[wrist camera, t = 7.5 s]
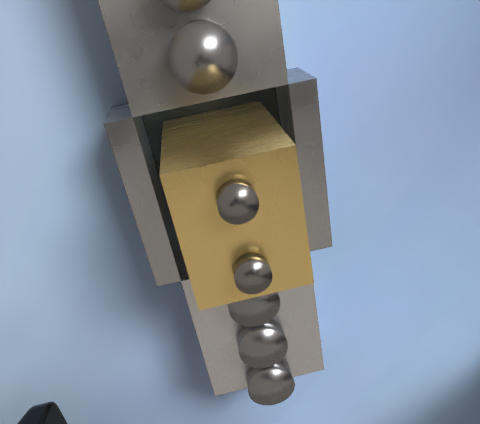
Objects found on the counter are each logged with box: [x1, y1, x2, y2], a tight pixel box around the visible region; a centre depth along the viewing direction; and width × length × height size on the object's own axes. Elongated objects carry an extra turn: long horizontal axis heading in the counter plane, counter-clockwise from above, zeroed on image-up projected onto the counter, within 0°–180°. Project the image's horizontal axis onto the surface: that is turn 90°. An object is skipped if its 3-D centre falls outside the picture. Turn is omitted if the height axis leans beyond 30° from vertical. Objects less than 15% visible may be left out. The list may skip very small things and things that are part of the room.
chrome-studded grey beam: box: [98, 0, 332, 405], centre depth 18 cm, size 22×8×3 cm, turn 10°
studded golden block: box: [160, 101, 314, 311], centre depth 16 cm, size 5×4×7 cm
